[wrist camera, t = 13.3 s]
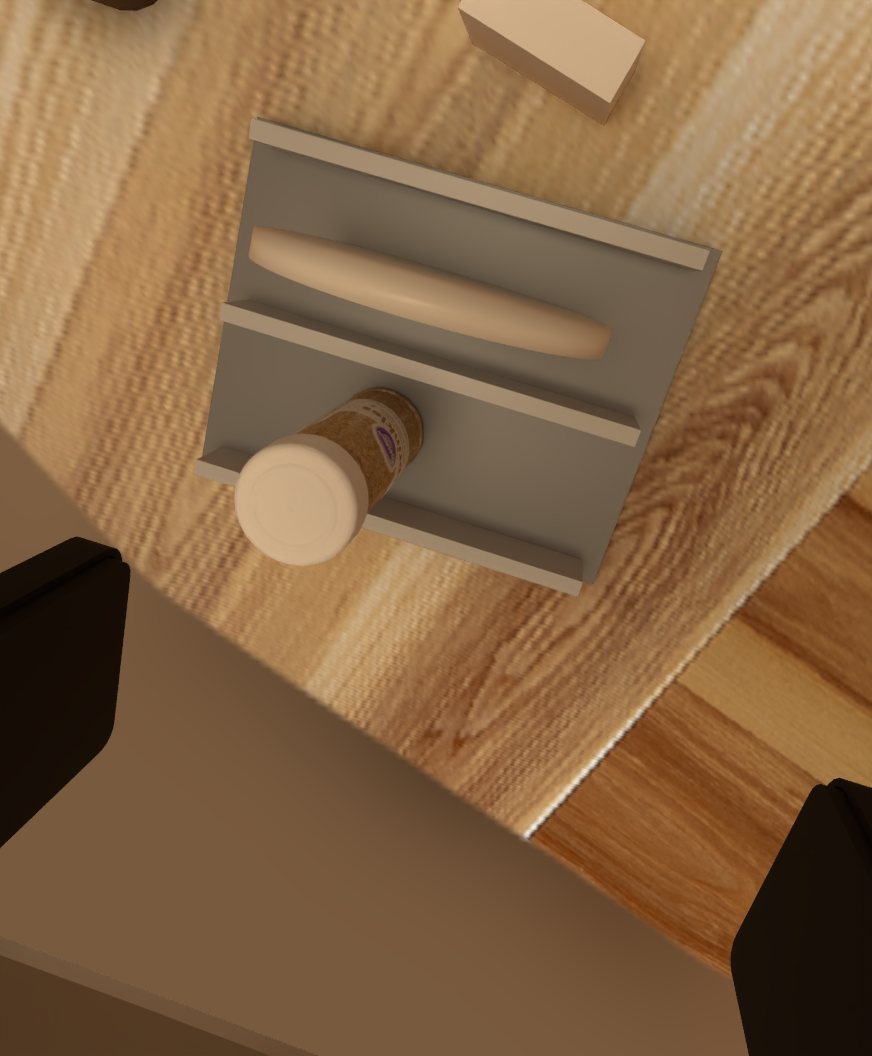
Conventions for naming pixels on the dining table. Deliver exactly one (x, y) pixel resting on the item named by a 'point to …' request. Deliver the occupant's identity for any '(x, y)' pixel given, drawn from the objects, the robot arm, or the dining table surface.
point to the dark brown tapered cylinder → (127, 4)
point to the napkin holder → (558, 48)
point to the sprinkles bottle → (326, 477)
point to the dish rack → (454, 345)
